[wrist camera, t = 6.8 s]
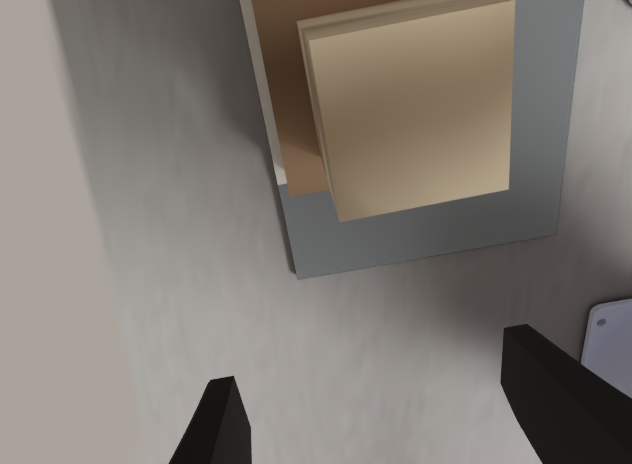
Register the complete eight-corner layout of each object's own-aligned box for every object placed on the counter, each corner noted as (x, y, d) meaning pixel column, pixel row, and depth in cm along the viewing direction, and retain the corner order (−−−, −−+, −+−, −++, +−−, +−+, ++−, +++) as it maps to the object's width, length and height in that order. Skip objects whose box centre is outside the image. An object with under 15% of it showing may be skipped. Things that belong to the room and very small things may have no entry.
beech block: (445, 133, 17) (508, 189, 12) (320, 157, 17) (339, 222, 12) (440, -8, 14) (515, -1, 10) (296, 21, 14) (308, 40, 10)
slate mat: (551, 230, 23) (557, 235, 22) (297, 275, 22) (297, 281, 22) (592, -128, 16) (601, -130, 15) (226, -65, 16) (225, -66, 15)
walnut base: (452, 143, 19) (476, 164, 17) (287, 171, 19) (289, 197, 17) (452, -52, 16) (481, -56, 14) (251, -17, 16) (248, -16, 14)
